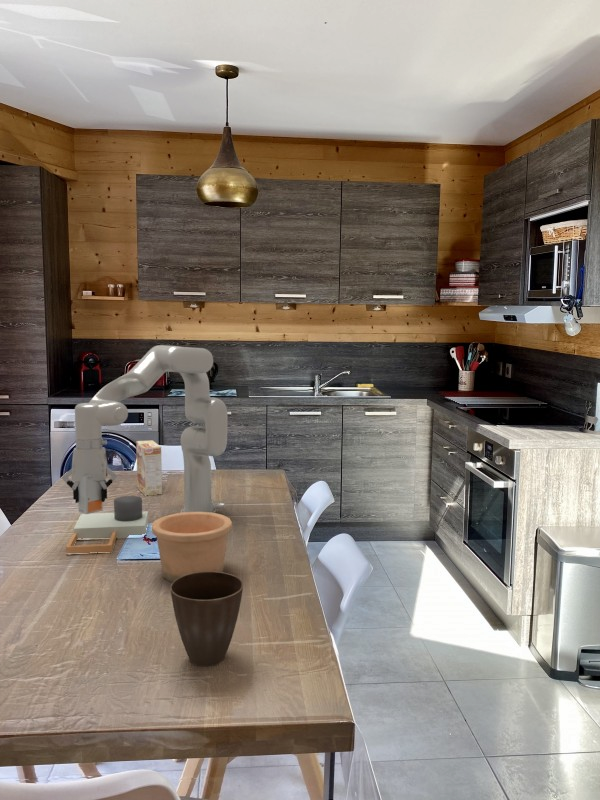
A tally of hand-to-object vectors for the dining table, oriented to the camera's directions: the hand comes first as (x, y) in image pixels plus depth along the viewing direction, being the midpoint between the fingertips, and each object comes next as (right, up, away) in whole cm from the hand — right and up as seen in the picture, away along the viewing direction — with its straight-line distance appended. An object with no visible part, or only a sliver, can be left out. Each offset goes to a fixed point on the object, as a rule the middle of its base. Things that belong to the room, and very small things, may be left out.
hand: (90, 500), depth 209 cm
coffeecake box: (+3, -6, +67) cm, 67 cm away
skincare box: (0, -3, 0) cm, 4 cm away
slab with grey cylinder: (+3, -13, +10) cm, 17 cm away
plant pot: (+45, -23, -65) cm, 82 cm away
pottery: (+34, -17, -19) cm, 43 cm away
